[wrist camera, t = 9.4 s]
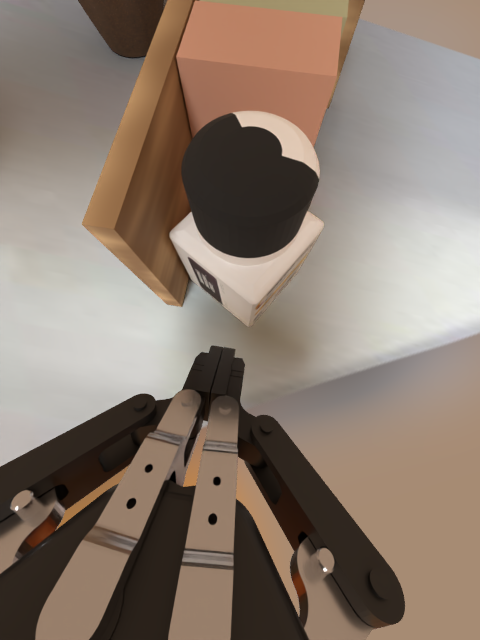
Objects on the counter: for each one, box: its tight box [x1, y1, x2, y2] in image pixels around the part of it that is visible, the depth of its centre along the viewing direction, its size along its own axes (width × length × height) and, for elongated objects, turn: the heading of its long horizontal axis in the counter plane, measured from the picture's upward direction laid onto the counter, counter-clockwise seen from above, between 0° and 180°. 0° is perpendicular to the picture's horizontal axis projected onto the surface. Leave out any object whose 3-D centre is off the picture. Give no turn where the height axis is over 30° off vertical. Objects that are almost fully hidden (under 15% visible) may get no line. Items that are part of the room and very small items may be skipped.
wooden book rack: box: [82, 0, 365, 307], centre depth 19 cm, size 14×30×12 cm, turn 170°
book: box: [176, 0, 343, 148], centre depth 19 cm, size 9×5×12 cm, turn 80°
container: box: [169, 111, 324, 327], centre depth 16 cm, size 8×8×13 cm
